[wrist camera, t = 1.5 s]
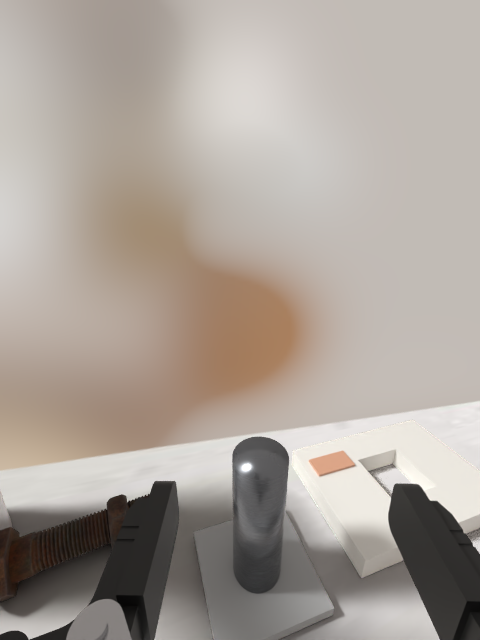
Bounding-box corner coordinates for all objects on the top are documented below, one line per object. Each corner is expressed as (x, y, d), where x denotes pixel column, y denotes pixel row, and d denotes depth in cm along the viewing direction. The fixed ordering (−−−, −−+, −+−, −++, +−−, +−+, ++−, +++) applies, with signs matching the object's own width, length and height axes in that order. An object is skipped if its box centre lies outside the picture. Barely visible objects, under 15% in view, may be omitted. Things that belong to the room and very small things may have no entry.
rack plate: (361, 578, 29) (365, 558, 28) (291, 465, 41) (293, 448, 40) (510, 515, 35) (518, 496, 34) (409, 433, 47) (413, 417, 46)
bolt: (166, 536, 34) (0, 604, 28) (157, 488, 37) (4, 540, 31) (171, 526, 30) (-23, 604, 24) (160, 473, 33) (-16, 530, 27)
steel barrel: (224, 577, 28) (222, 466, 23) (245, 533, 31) (247, 430, 27) (270, 604, 26) (277, 489, 21) (287, 554, 30) (296, 447, 25)
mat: (218, 666, 23) (218, 659, 23) (194, 538, 32) (193, 531, 32) (333, 615, 26) (334, 607, 26) (281, 510, 35) (282, 504, 35)
